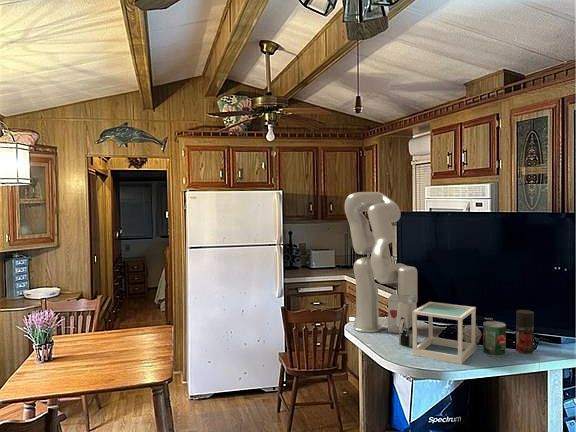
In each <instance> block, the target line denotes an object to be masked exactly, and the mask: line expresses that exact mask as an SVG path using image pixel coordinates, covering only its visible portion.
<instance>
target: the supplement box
mask: <svg viewBox="0 0 576 432" xmlns="http://www.w3.org/2000/svg"><path fill="white" fill-rule="evenodd" d="M398 303H399V302H398V293H397V294H395V293H394V294H393V293H391V294H390V295H389V297H388V299H387V332H388V333H393V334H394V333H395V334H399V332H400V331H399V327H397V308H398ZM404 327H405V328H406V326H404ZM405 330H406V329H405Z"/></svg>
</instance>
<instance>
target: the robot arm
mask: <svg viewBox="0 0 576 432" xmlns="http://www.w3.org/2000/svg"><path fill="white" fill-rule="evenodd" d="M344 212H345V216H346V219H347V221H348V223H349V224H348V225H349V230H350V236H351V242H352V247H353V249H354V252H355V253H356V254H358V255H370V256H365V257H360V258H358V259H357V260H355V262H354V263H353V273H354V279H355V294H356V295H355V296H356V297H355V299H356V300H355V301H356V303H355V306H356V308H355V310H356V317H355V316H349V318H348V322H349V323H353V325H352V328H353V330H354V331H356V332H360V333H377V332H381V331H382V330H383V326H382V324H379V287H378V285H377V283H376V281H377V282H378V283H379V284H380V285H381V284H383V285H385V284H393V283H394V284H395V283H397V294H398V302H399V303H398V308H397V327H399V331H400V335H401V345H400V346H403V345H404V347H409V336H408V330H412V331H413V311H414V310H416V309H417V308H418V307H417V303H418V270H417V268H416V267H415V266H410V265H406V264H404V263H400V262H398V263H393V262H392V258H391V252H390V246H389V244H390V243H393V242H394V241H395V239H396V234H395V231H394V228H393V223H398V221H400V218H401V213H402V212H401V209H400V207H399V206H398V204H397V203H396V202H395V201H394V200H393V199H391V198H389V196H387V195H385V193H382V192H380V191H360V192H359V191H358V192H353V193H350V194H349V195H348V196H347V197H346V199H345V200H344ZM363 212H367V216H368V218H367V217H366V215H365V214H363ZM371 230H372V231H371ZM375 280H376V281H375ZM404 326H406V328H405V327H404ZM404 329H406V331H405V330H404Z"/></svg>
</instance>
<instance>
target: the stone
mask: <svg viewBox="0 0 576 432" xmlns="http://www.w3.org/2000/svg"><path fill="white" fill-rule="evenodd" d="M404 330H405V329H404ZM405 331H406V330H405ZM408 336H409V346H408V347H409V348H413V331H412V330H408ZM398 339H399V342H398V345H400V346H404V345H401V335H400V332H399V333H398ZM404 347H405V346H404Z"/></svg>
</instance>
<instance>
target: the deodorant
mask: <svg viewBox="0 0 576 432" xmlns="http://www.w3.org/2000/svg"><path fill="white" fill-rule="evenodd" d="M515 313H516V314H515V315H516V317H515V318H516V319H515V321H516V323H515V324H516V325H515V326H516V327H515V339H516V341H515V351H516V352H517V353H519V354H525V355H531V354H534V341H535V340H534V339H535V338H534V337H535V333H534V332H535V331H534V330H535V312H534V311H532V310H529V309H518V310H516V312H515Z"/></svg>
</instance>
